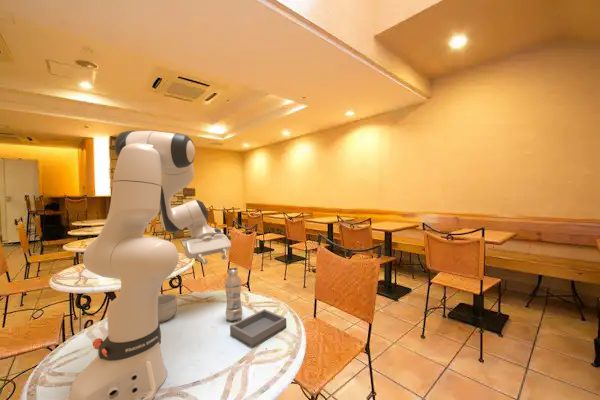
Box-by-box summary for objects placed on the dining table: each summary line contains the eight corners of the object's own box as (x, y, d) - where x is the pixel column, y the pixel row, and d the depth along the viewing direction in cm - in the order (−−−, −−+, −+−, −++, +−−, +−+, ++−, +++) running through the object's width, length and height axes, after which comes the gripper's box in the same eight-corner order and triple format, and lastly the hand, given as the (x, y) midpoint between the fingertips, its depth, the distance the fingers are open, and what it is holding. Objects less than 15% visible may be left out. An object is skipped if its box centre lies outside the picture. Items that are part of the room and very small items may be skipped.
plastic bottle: (244, 315, 104) (243, 266, 104) (239, 323, 98) (237, 271, 97) (229, 314, 105) (228, 266, 104) (223, 323, 98) (221, 271, 98)
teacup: (174, 323, 99) (173, 302, 99) (142, 327, 96) (141, 306, 96) (180, 307, 113) (180, 289, 112) (153, 311, 110) (152, 293, 110)
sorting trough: (252, 348, 82) (251, 337, 82) (230, 335, 89) (230, 325, 89) (286, 327, 94) (286, 318, 94) (264, 317, 102) (264, 309, 101)
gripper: (182, 234, 105) (194, 262, 99) (225, 229, 121) (238, 252, 115) (177, 244, 108) (189, 271, 102) (220, 237, 124) (232, 260, 118)
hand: (215, 261), depth 109 cm, fingers open, 8 cm apart
